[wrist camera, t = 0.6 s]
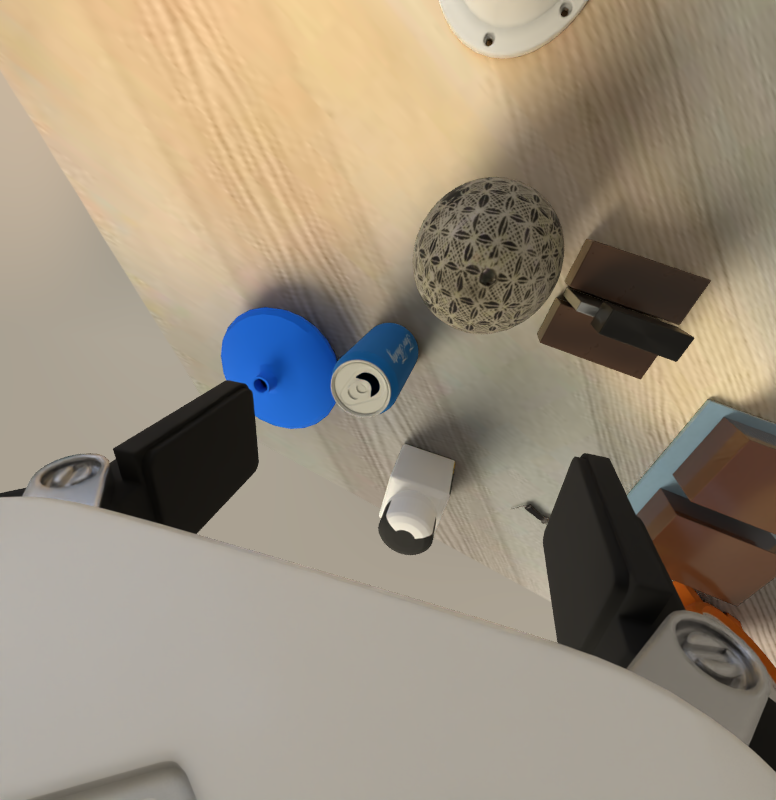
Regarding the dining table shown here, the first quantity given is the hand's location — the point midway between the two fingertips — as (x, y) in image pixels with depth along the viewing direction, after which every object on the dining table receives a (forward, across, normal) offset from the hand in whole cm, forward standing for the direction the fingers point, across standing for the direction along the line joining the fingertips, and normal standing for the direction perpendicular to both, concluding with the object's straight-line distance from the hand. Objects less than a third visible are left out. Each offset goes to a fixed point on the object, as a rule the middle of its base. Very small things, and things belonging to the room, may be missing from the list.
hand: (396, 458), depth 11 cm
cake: (+32, -31, +19) cm, 49 cm away
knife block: (+32, -14, 0) cm, 35 cm away
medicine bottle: (+32, +2, +25) cm, 41 cm away
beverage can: (+32, +7, +8) cm, 34 cm away
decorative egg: (+32, -1, -3) cm, 32 cm away
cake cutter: (+32, -14, 0) cm, 35 cm away
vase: (+32, +20, +13) cm, 40 cm away
